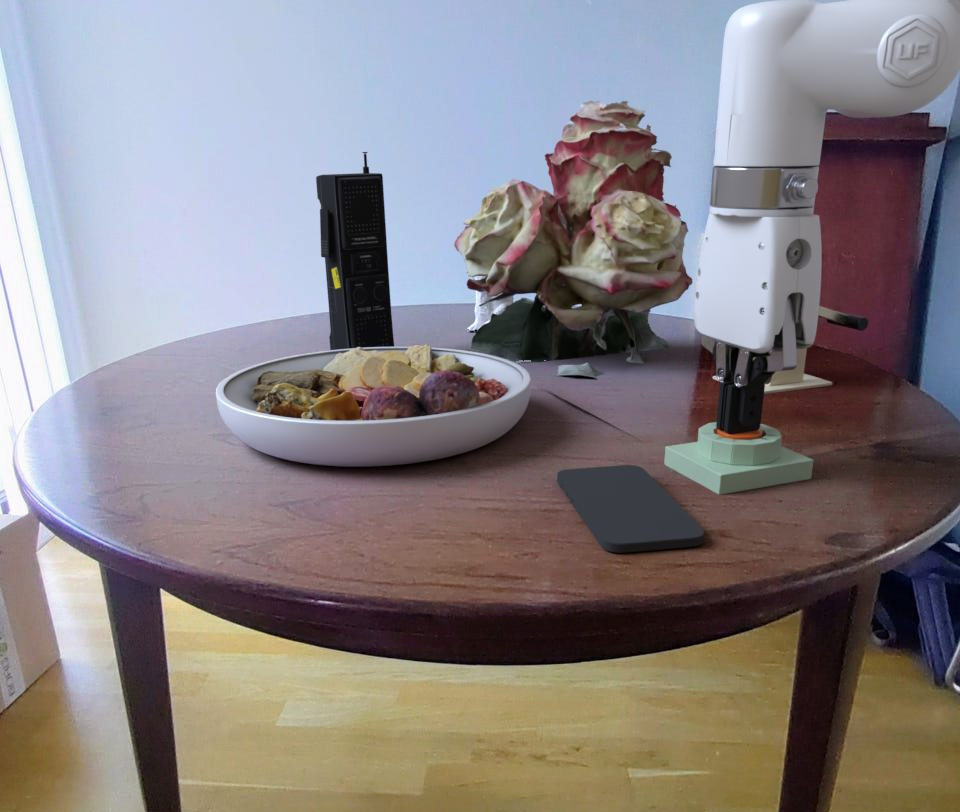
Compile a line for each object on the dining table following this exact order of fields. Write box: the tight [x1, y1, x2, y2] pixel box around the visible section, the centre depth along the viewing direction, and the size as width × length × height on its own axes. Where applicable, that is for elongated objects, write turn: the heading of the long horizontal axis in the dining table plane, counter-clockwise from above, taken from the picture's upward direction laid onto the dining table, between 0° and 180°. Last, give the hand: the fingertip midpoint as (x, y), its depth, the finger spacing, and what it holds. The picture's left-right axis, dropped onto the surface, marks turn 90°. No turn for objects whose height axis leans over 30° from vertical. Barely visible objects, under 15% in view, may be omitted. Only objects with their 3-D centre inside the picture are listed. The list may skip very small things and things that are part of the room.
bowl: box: [215, 343, 532, 468], centre depth 88 cm, size 30×30×8 cm
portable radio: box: [315, 151, 395, 350], centre depth 112 cm, size 8×6×25 cm
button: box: [717, 428, 763, 440], centre depth 75 cm, size 4×4×2 cm
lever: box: [818, 305, 869, 332], centre depth 99 cm, size 12×5×2 cm, turn 111°
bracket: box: [712, 348, 833, 395], centre depth 98 cm, size 10×8×12 cm
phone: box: [556, 464, 706, 554], centre depth 68 cm, size 7×1×15 cm
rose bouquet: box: [454, 100, 693, 381], centre depth 109 cm, size 26×29×30 cm
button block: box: [663, 421, 814, 495], centre depth 75 cm, size 9×8×4 cm
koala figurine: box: [459, 252, 514, 330], centre depth 133 cm, size 8×7×12 cm
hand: (737, 429), depth 75 cm, fingers closed
